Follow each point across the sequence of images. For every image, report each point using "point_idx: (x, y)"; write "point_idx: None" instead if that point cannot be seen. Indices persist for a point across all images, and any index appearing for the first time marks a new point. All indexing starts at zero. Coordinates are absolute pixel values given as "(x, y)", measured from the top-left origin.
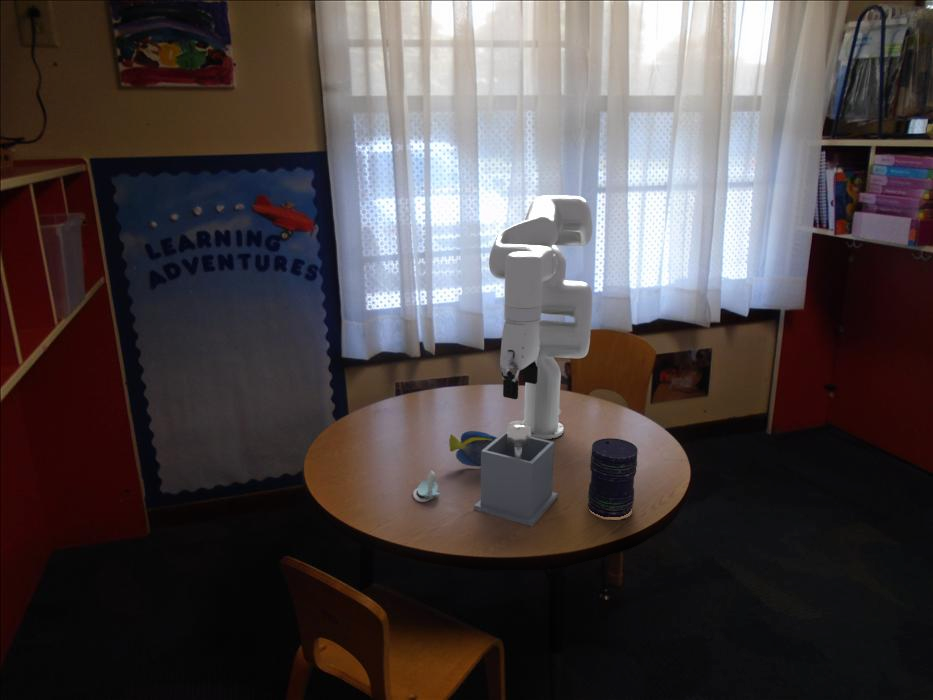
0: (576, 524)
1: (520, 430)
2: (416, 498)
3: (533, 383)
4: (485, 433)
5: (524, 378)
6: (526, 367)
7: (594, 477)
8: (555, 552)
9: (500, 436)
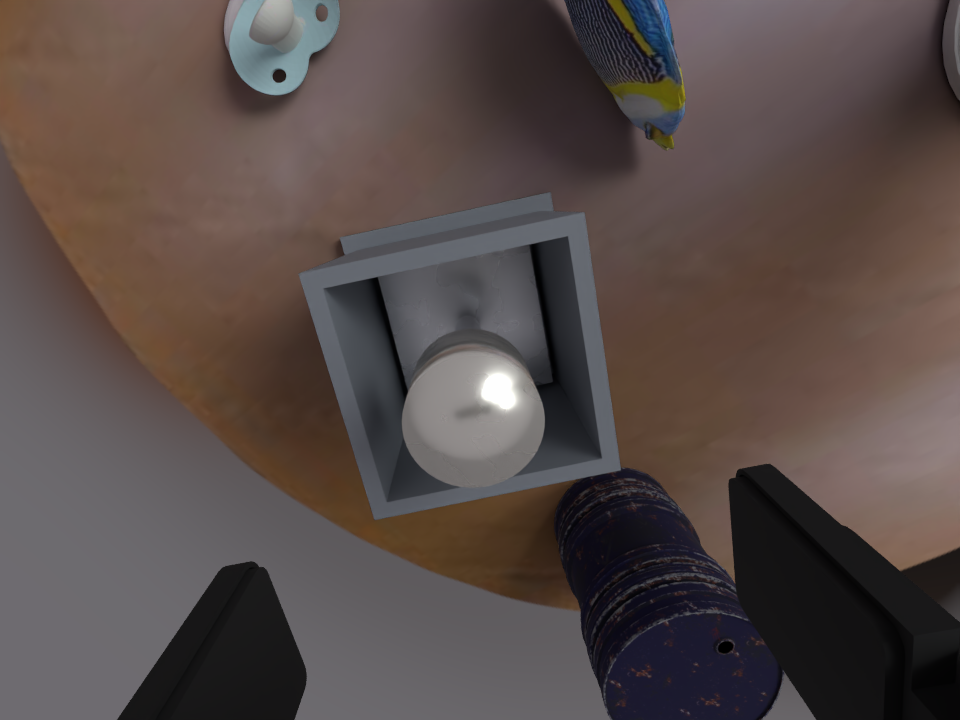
0: (487, 499)
1: (424, 468)
2: (224, 25)
3: (736, 583)
4: (652, 3)
5: (749, 514)
6: (864, 663)
7: (591, 573)
8: (343, 528)
9: (505, 236)
